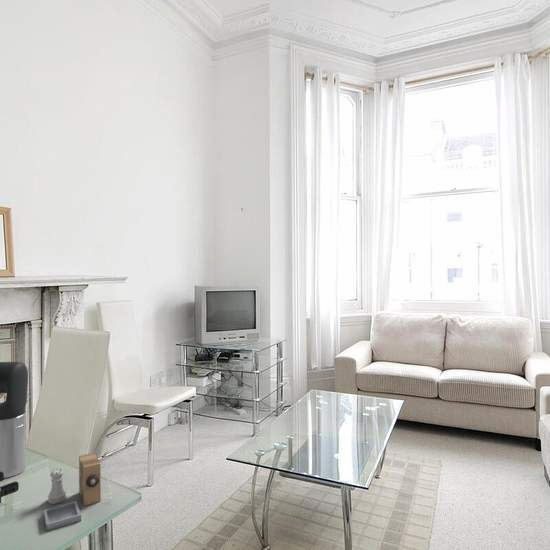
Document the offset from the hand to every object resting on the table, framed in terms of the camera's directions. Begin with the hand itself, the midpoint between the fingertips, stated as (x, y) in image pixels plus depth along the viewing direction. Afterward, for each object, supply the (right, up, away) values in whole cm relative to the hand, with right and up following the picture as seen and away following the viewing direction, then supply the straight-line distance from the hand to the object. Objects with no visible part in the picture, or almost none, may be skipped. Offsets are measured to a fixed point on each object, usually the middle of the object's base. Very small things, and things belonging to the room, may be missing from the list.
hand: (10, 480), depth 104 cm
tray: (+12, -10, +1) cm, 16 cm away
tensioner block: (+15, -10, +11) cm, 21 cm away
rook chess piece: (+7, -10, +9) cm, 15 cm away
